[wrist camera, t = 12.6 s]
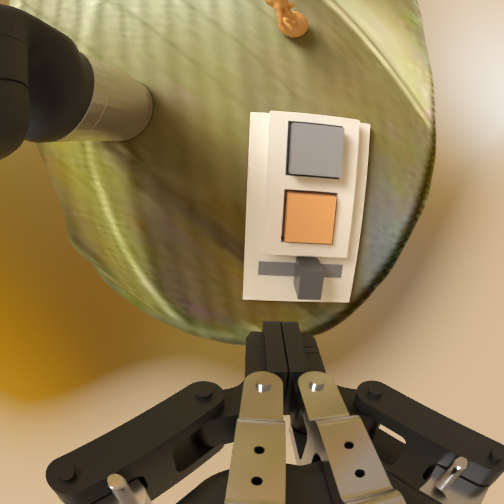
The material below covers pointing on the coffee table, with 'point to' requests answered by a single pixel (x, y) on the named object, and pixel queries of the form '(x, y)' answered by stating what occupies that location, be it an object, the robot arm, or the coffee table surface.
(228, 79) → the coffee table surface
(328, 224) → the orange button
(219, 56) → the coffee table surface
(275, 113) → the control panel
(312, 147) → the grey button
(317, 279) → the dark grey block
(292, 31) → the figurine
